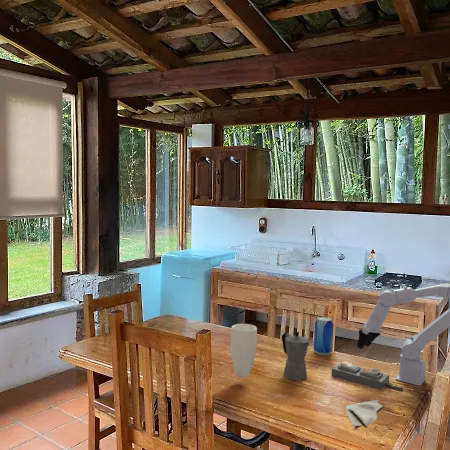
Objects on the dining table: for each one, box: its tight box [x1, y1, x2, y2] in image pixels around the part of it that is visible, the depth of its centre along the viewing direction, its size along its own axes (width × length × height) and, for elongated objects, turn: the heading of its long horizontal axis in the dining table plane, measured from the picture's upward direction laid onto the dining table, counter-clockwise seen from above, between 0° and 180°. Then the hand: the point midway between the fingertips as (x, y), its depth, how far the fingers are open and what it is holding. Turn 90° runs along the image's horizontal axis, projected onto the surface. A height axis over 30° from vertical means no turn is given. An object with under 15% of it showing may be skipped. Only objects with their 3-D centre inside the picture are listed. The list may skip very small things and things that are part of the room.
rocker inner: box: [362, 368, 381, 374], centre depth 181 cm, size 6×4×1 cm, turn 53°
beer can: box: [313, 316, 334, 356], centre depth 214 cm, size 8×8×16 cm
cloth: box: [344, 399, 384, 430], centre depth 155 cm, size 26×14×2 cm, turn 135°
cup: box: [230, 323, 258, 378], centre depth 176 cm, size 10×10×22 cm
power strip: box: [331, 362, 404, 392], centre depth 182 cm, size 26×9×4 cm, turn 53°
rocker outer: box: [341, 360, 359, 370], centre depth 186 cm, size 6×4×1 cm, turn 52°
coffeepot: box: [281, 331, 310, 381], centre depth 186 cm, size 15×9×18 cm, turn 33°
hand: (362, 346), depth 191 cm, fingers open, 7 cm apart
